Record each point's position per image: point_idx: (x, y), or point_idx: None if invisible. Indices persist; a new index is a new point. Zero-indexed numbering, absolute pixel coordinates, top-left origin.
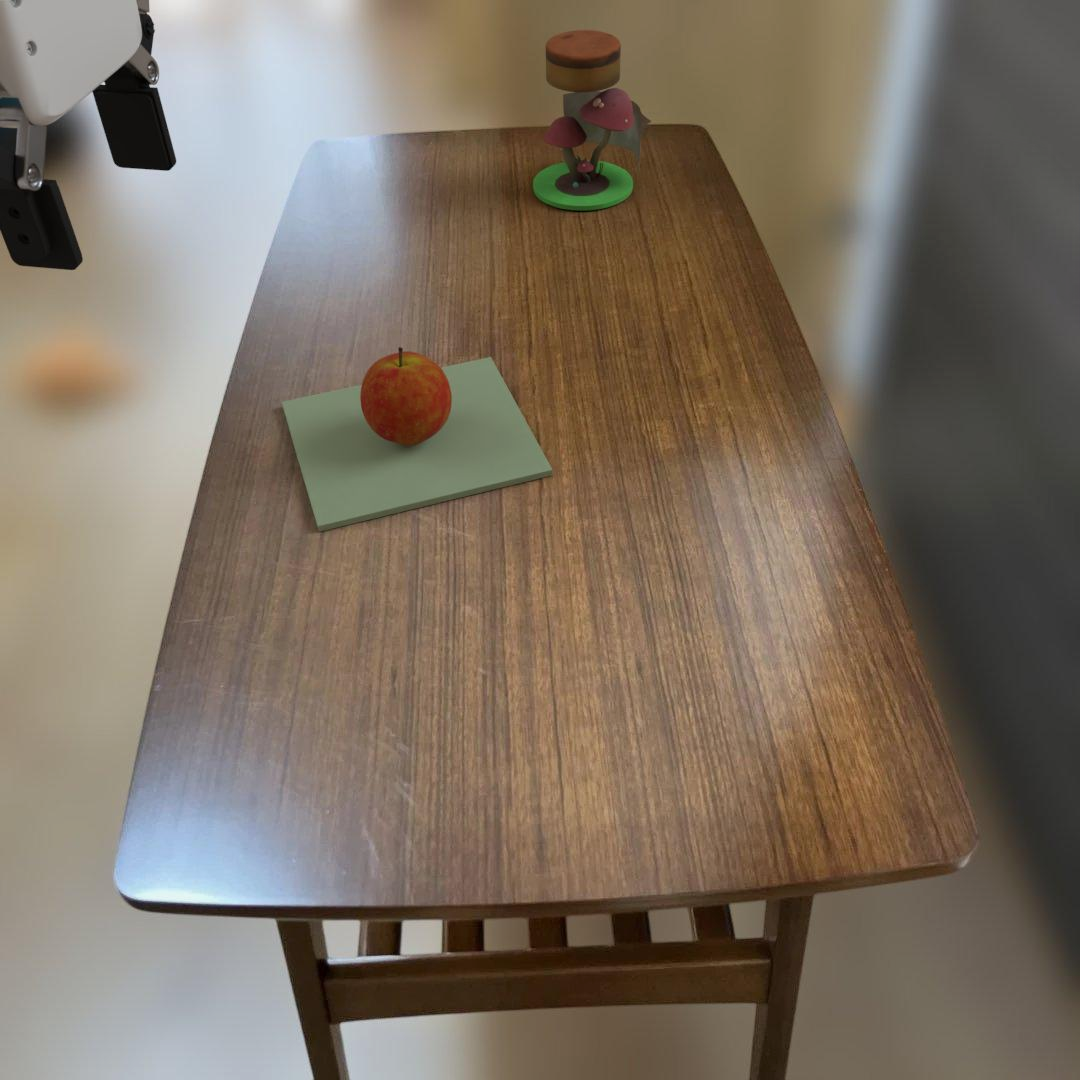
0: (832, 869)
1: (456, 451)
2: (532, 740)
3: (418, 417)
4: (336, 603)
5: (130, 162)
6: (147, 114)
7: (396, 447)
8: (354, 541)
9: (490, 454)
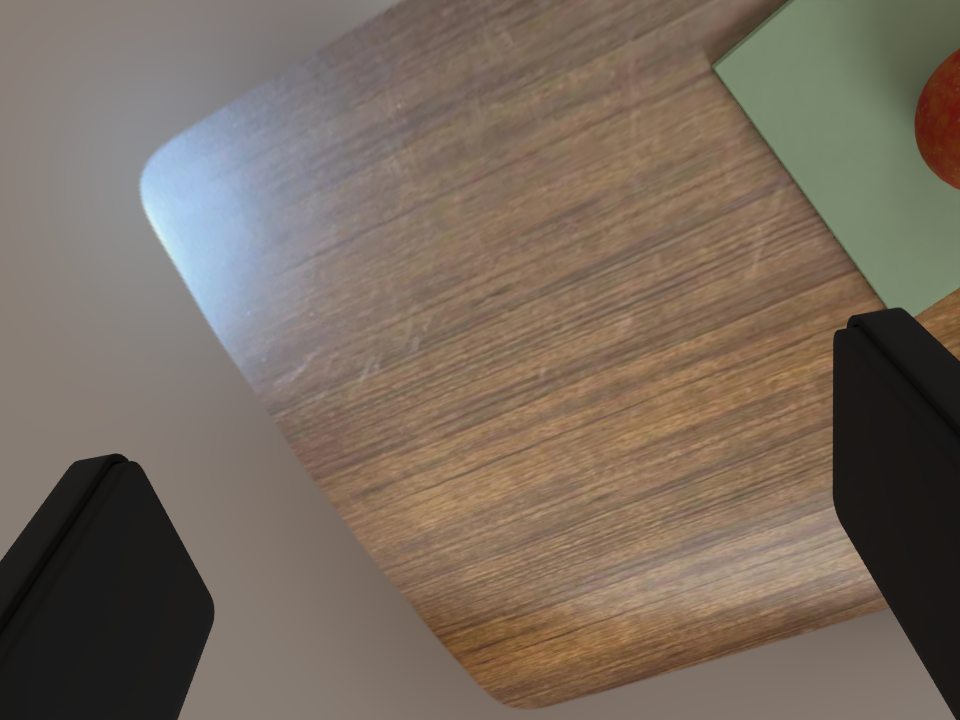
0: (455, 655)
1: (926, 186)
2: (477, 446)
3: (941, 174)
4: (583, 168)
5: (842, 399)
6: (940, 663)
7: None
8: (705, 128)
9: (925, 235)
